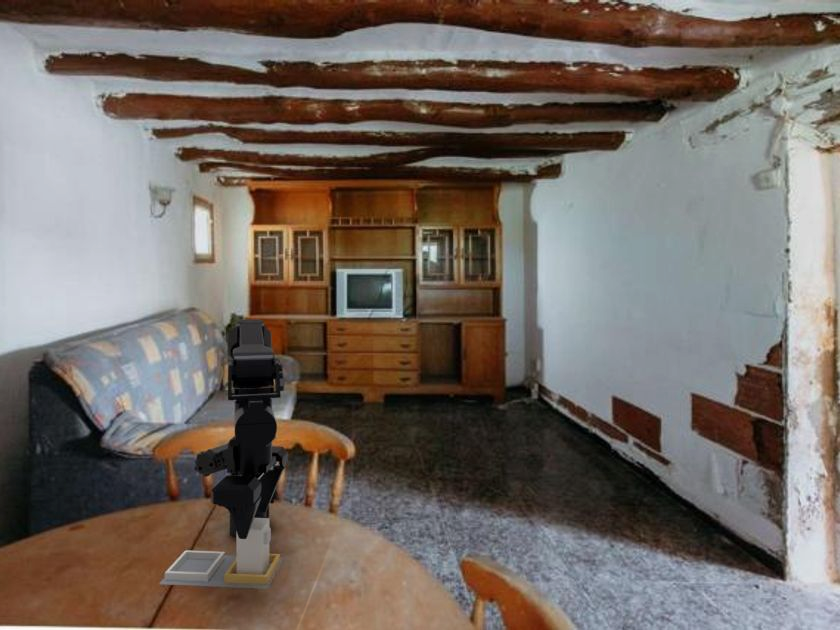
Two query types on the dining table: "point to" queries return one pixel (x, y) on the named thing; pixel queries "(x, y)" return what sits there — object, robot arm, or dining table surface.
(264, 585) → the socket panel
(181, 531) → the dining table surface
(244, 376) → the robot arm
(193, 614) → the dining table surface
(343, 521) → the dining table surface
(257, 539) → the plug
